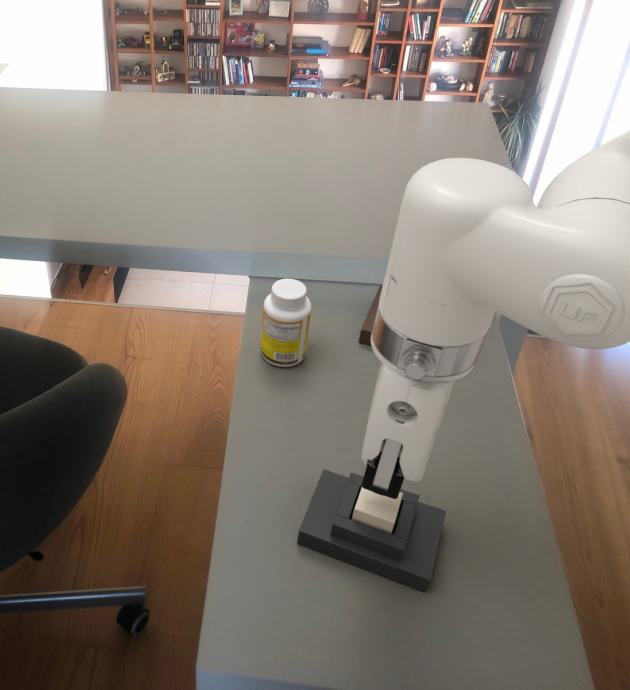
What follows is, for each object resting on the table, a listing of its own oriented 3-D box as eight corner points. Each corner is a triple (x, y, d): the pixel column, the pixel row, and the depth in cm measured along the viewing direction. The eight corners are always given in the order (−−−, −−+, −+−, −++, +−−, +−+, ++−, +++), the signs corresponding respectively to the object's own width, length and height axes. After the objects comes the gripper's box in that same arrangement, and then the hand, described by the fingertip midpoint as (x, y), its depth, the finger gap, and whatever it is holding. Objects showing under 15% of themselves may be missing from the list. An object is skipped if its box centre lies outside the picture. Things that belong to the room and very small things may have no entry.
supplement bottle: (284, 333, 89) (291, 268, 82) (314, 357, 86) (324, 291, 79) (250, 350, 87) (255, 285, 80) (280, 375, 83) (287, 309, 76)
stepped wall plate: (441, 523, 67) (450, 499, 65) (425, 593, 62) (435, 569, 59) (320, 482, 71) (325, 457, 69) (296, 543, 66) (300, 519, 63)
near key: (399, 503, 65) (403, 492, 64) (391, 534, 62) (394, 523, 61) (361, 490, 66) (364, 479, 65) (351, 520, 64) (354, 508, 63)
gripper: (466, 418, 44) (405, 572, 56) (495, 287, 53) (438, 442, 66) (348, 383, 46) (315, 537, 58) (397, 264, 56) (360, 417, 68)
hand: (380, 486), depth 62 cm, fingers closed
